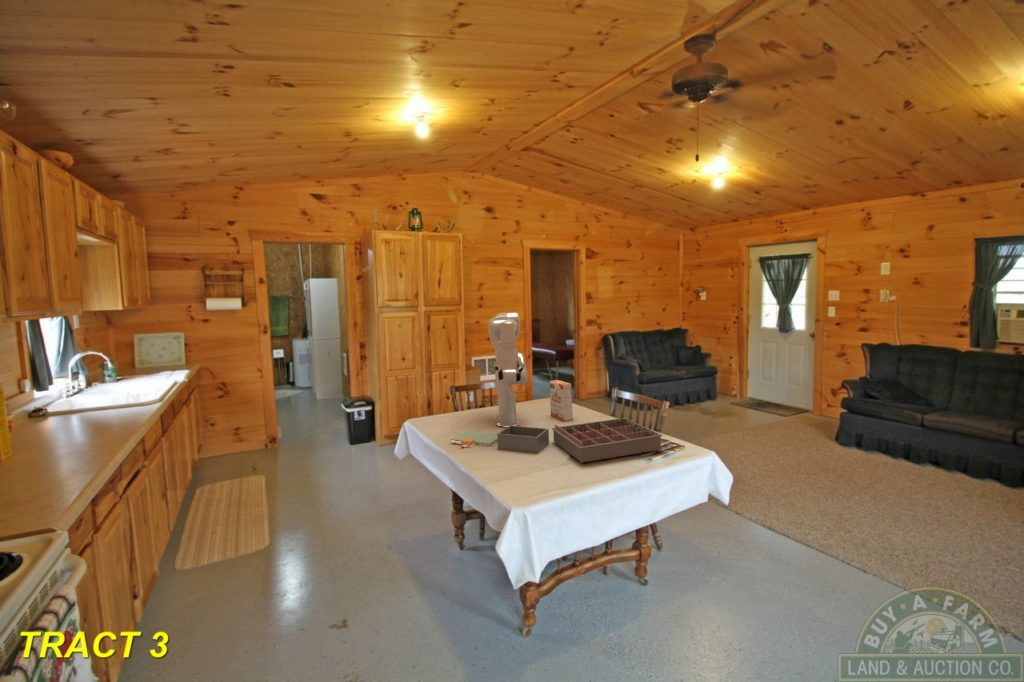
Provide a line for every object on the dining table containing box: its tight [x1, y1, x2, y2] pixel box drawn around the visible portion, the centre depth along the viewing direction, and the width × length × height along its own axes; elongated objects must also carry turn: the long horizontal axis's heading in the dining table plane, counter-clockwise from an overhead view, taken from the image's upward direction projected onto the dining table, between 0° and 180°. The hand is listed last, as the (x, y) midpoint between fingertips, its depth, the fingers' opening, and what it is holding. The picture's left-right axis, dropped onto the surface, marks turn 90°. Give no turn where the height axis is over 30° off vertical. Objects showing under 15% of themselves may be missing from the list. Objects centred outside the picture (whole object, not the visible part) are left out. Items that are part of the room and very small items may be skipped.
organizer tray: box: [550, 417, 663, 463], centre depth 228 cm, size 32×40×10 cm
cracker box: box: [549, 379, 574, 422], centre depth 280 cm, size 14×6×21 cm, turn 28°
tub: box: [497, 425, 550, 454], centre depth 233 cm, size 20×14×8 cm
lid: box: [450, 429, 499, 447], centre depth 245 cm, size 22×20×4 cm
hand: (509, 380), depth 247 cm, fingers open, 9 cm apart
